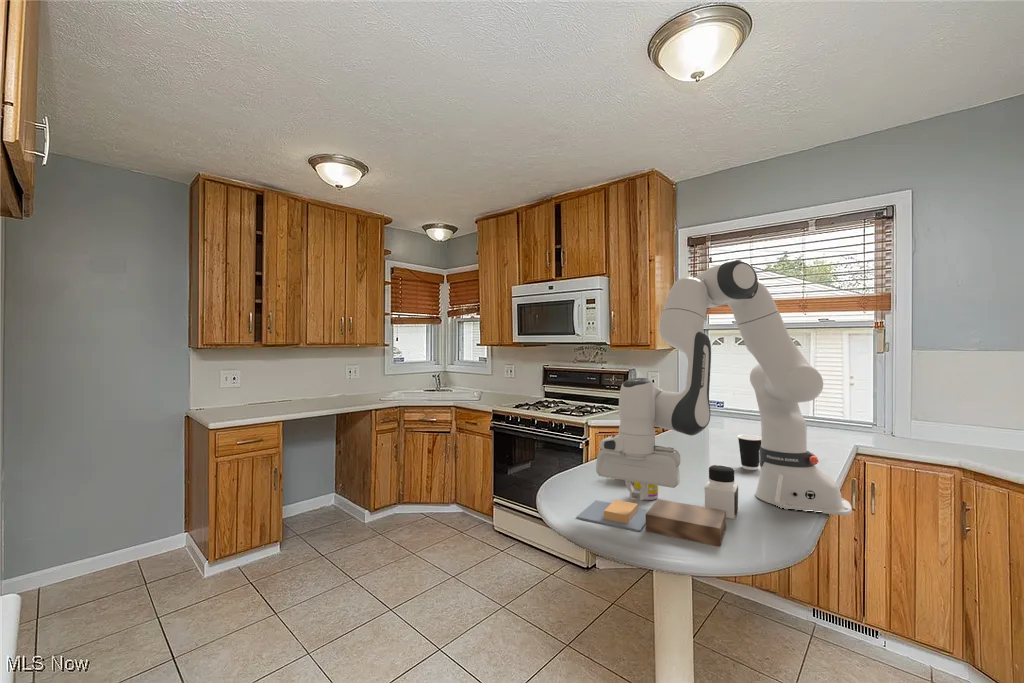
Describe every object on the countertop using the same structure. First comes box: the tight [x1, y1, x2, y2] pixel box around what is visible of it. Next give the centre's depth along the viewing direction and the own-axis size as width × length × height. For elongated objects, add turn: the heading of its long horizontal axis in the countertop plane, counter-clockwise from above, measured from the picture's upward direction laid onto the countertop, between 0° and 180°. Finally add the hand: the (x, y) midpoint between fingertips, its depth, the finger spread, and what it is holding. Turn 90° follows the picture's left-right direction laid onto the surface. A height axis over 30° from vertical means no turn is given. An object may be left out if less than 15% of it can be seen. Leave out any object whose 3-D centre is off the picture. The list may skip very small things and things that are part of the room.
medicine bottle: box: [704, 464, 739, 520], centre depth 117 cm, size 7×7×12 cm
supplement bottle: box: [633, 482, 659, 501], centre depth 129 cm, size 7×7×13 cm
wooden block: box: [645, 498, 727, 548], centre depth 107 cm, size 16×12×4 cm
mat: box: [575, 499, 649, 533], centre depth 115 cm, size 16×14×1 cm
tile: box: [604, 499, 639, 523], centre depth 115 cm, size 6×9×2 cm, turn 150°
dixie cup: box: [737, 434, 761, 471], centre depth 159 cm, size 8×8×11 cm
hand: (636, 498), depth 113 cm, fingers closed
